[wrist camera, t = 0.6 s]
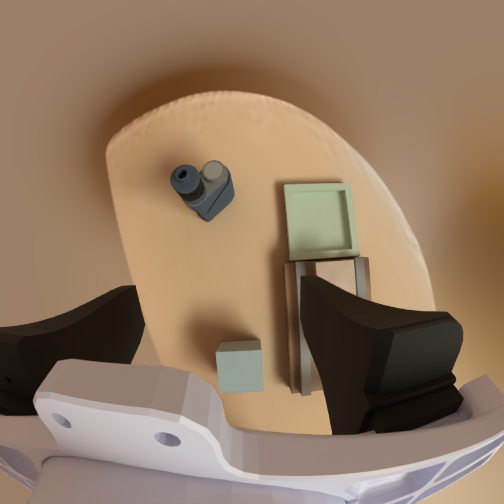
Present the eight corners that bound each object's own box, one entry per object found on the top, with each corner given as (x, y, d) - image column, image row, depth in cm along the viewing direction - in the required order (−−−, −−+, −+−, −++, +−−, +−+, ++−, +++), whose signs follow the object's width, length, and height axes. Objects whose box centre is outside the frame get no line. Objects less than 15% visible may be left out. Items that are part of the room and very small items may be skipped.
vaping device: (191, 211, 32) (159, 174, 21) (224, 181, 33) (209, 130, 21) (205, 226, 32) (179, 196, 20) (239, 195, 33) (231, 150, 21)
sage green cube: (262, 375, 31) (264, 391, 26) (224, 377, 31) (219, 392, 26) (260, 339, 31) (261, 349, 26) (221, 341, 31) (215, 352, 26)
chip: (348, 298, 29) (356, 299, 27) (313, 301, 29) (318, 303, 27) (346, 261, 30) (353, 259, 27) (310, 264, 30) (315, 262, 27)
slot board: (365, 376, 30) (374, 383, 27) (289, 387, 30) (292, 397, 27) (361, 258, 32) (371, 256, 29) (282, 264, 32) (285, 262, 29)
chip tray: (355, 256, 32) (359, 255, 31) (289, 261, 32) (290, 260, 31) (347, 186, 33) (350, 183, 32) (283, 187, 33) (284, 184, 32)
